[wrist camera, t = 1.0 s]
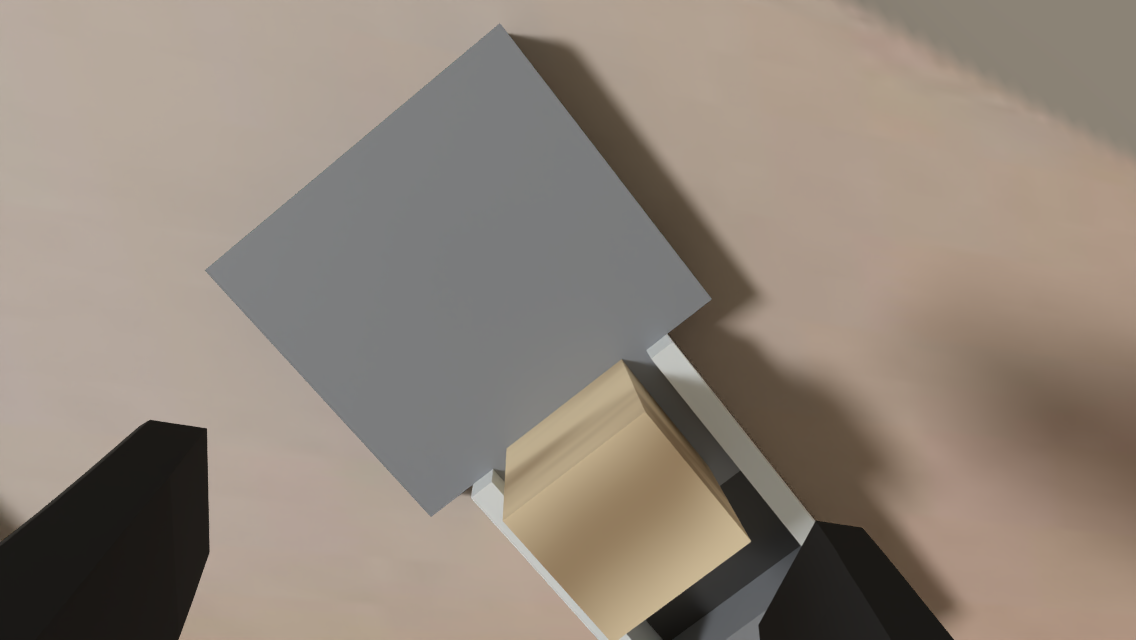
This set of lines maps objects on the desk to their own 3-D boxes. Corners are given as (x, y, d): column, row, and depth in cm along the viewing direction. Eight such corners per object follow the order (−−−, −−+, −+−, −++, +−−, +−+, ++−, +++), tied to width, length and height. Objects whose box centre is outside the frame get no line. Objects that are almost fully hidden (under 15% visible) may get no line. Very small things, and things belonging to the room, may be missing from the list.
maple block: (708, 466, 26) (751, 541, 21) (596, 551, 26) (612, 643, 22) (621, 359, 25) (645, 411, 20) (506, 448, 26) (502, 521, 21)
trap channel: (914, 568, 29) (957, 615, 27) (668, 745, 30) (683, 809, 28) (502, 32, 25) (498, 18, 22) (228, 260, 26) (191, 275, 23)
